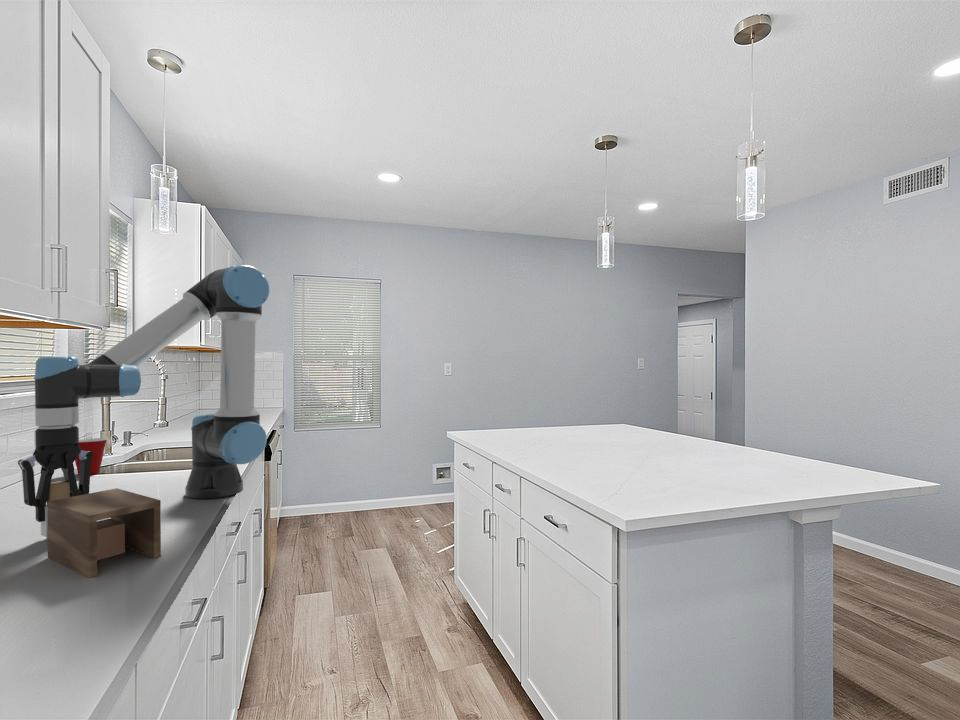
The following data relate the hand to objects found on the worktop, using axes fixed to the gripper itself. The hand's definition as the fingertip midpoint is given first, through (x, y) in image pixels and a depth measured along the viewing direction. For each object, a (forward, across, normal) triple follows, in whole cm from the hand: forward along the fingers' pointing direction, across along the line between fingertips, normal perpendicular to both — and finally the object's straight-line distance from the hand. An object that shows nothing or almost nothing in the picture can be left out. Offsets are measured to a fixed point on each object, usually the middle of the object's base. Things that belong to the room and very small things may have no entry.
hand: (58, 532), depth 118 cm
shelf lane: (+1, 0, +22) cm, 22 cm away
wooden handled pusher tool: (+1, 0, +10) cm, 10 cm away
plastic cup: (+1, -34, -67) cm, 75 cm away
